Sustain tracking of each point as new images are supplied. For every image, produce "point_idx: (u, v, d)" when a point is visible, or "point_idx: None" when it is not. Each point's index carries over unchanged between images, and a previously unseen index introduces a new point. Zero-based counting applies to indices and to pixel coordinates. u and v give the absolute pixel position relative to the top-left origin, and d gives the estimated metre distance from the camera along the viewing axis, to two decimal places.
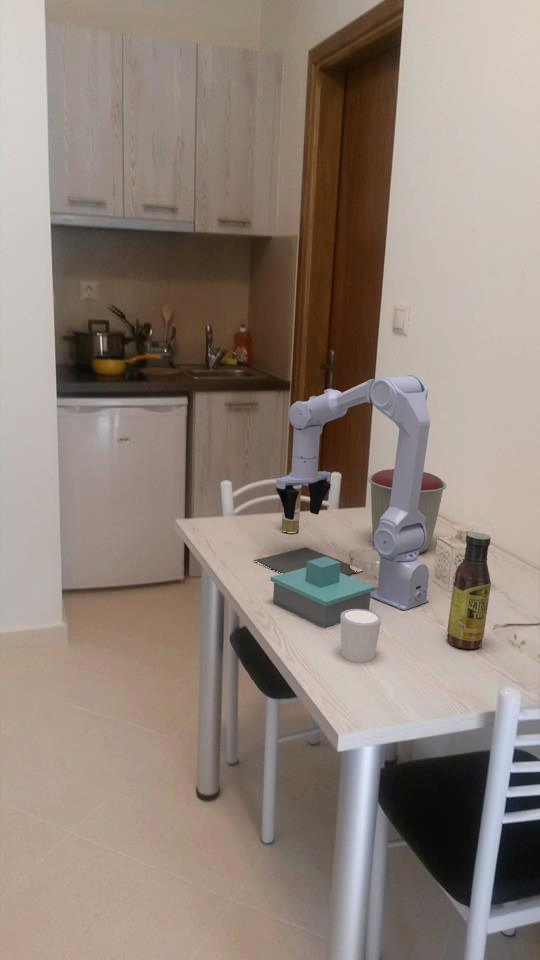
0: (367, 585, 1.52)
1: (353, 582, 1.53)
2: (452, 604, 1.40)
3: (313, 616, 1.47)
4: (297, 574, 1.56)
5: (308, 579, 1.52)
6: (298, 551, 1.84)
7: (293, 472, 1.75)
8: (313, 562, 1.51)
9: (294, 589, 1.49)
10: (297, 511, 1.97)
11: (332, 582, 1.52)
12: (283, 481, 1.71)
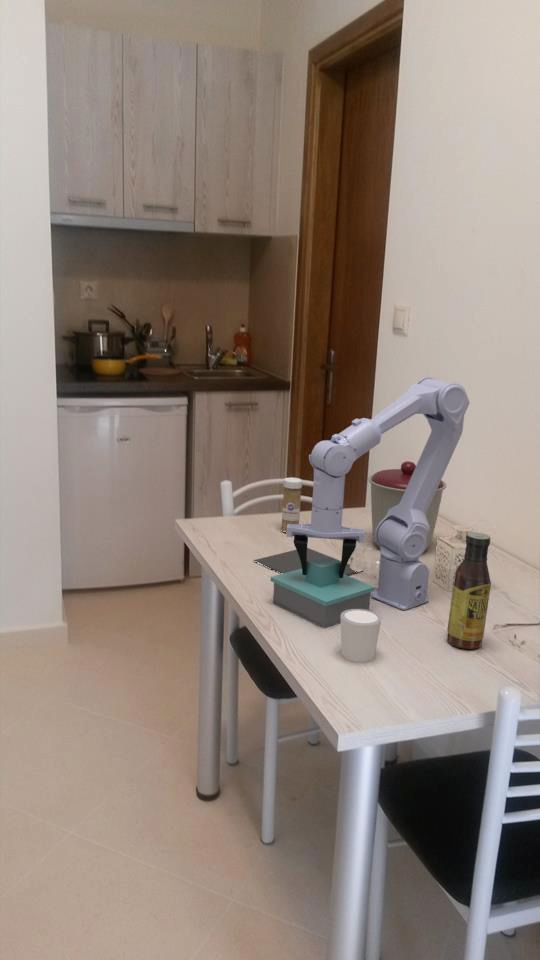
0: (367, 585, 1.52)
1: (353, 582, 1.53)
2: (452, 604, 1.40)
3: (313, 616, 1.47)
4: (297, 574, 1.56)
5: (308, 579, 1.52)
6: None
7: None
8: (313, 562, 1.51)
9: (294, 589, 1.49)
10: (297, 511, 1.97)
11: (332, 582, 1.52)
12: (288, 528, 1.50)
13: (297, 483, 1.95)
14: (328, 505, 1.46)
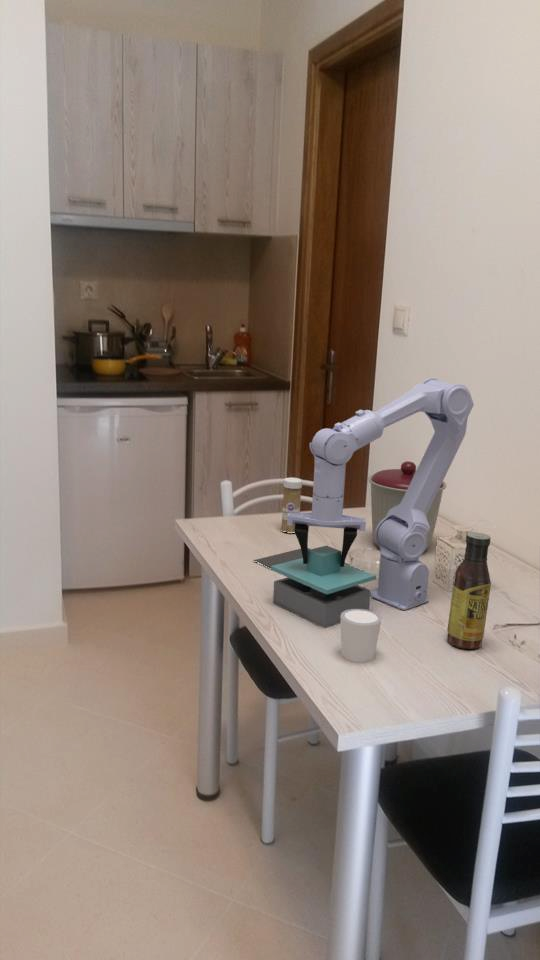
0: (368, 574, 1.52)
1: (354, 571, 1.53)
2: (452, 604, 1.40)
3: (313, 616, 1.47)
4: (298, 563, 1.55)
5: (309, 568, 1.51)
6: (298, 551, 1.84)
7: None
8: (314, 551, 1.51)
9: (295, 578, 1.49)
10: (297, 511, 1.97)
11: (333, 570, 1.51)
12: (289, 516, 1.49)
13: (297, 483, 1.95)
14: (329, 493, 1.46)
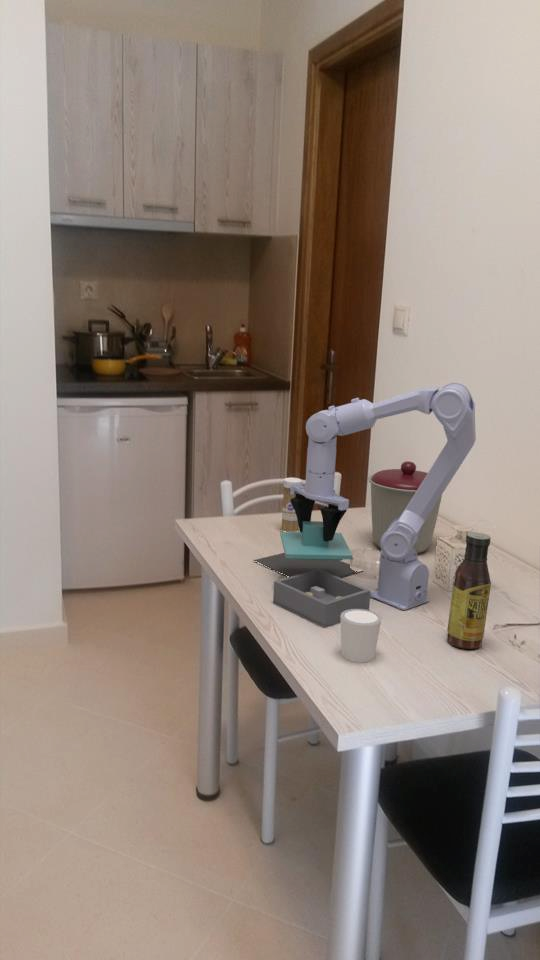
0: (348, 553, 1.58)
1: (340, 549, 1.60)
2: (452, 604, 1.40)
3: (313, 616, 1.47)
4: None
5: (302, 538, 1.65)
6: None
7: None
8: (306, 522, 1.63)
9: (282, 542, 1.64)
10: None
11: (319, 544, 1.62)
12: (291, 486, 1.66)
13: (297, 483, 1.95)
14: (311, 468, 1.58)
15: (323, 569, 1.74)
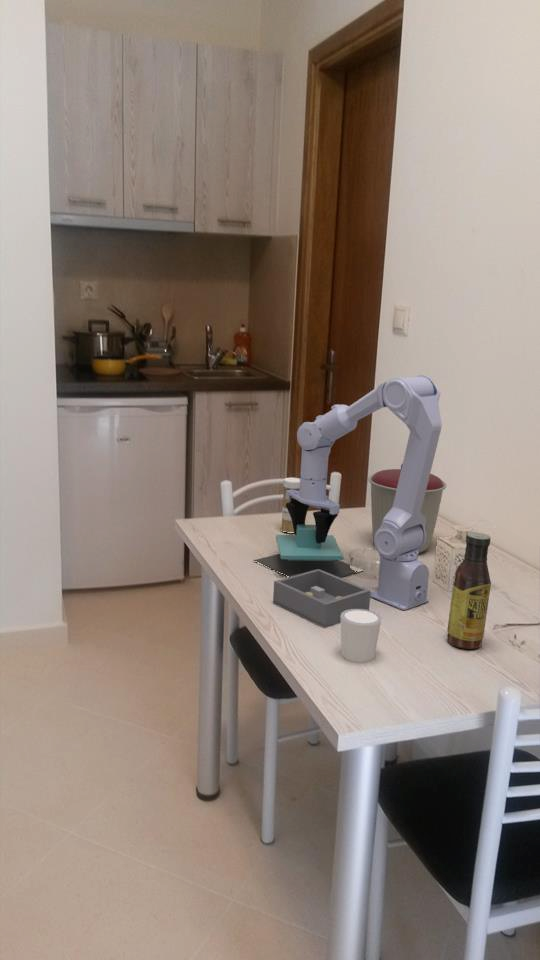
0: (339, 554, 1.69)
1: (332, 550, 1.71)
2: (452, 604, 1.40)
3: (313, 616, 1.47)
4: None
5: (296, 540, 1.76)
6: None
7: None
8: (300, 526, 1.75)
9: (278, 545, 1.75)
10: None
11: (312, 545, 1.73)
12: (287, 491, 1.77)
13: (297, 483, 1.95)
14: (301, 474, 1.70)
15: (323, 569, 1.74)
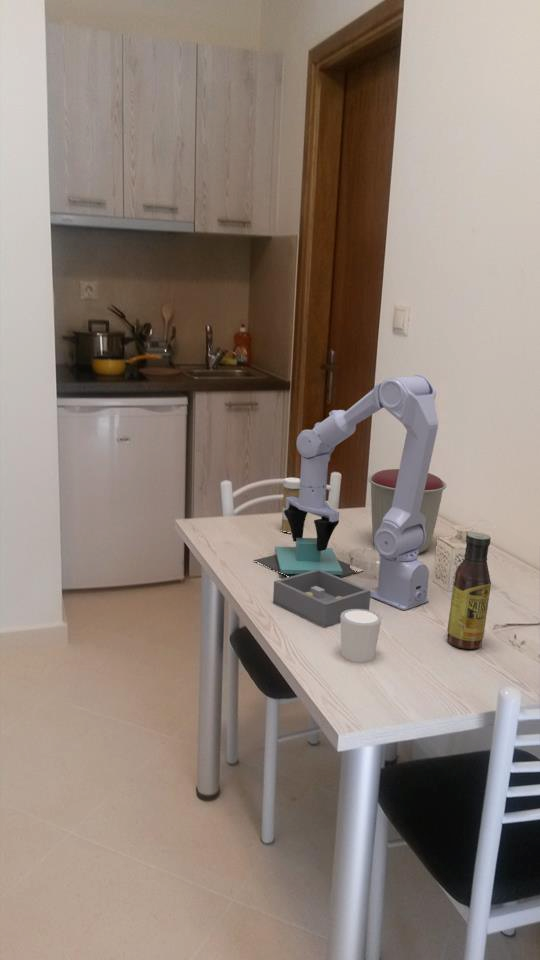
0: (338, 568, 1.70)
1: (331, 564, 1.72)
2: (452, 604, 1.40)
3: (313, 616, 1.47)
4: None
5: (295, 553, 1.76)
6: None
7: None
8: (299, 539, 1.75)
9: (277, 558, 1.76)
10: None
11: (311, 559, 1.73)
12: (286, 498, 1.77)
13: (297, 483, 1.95)
14: (301, 481, 1.71)
15: None
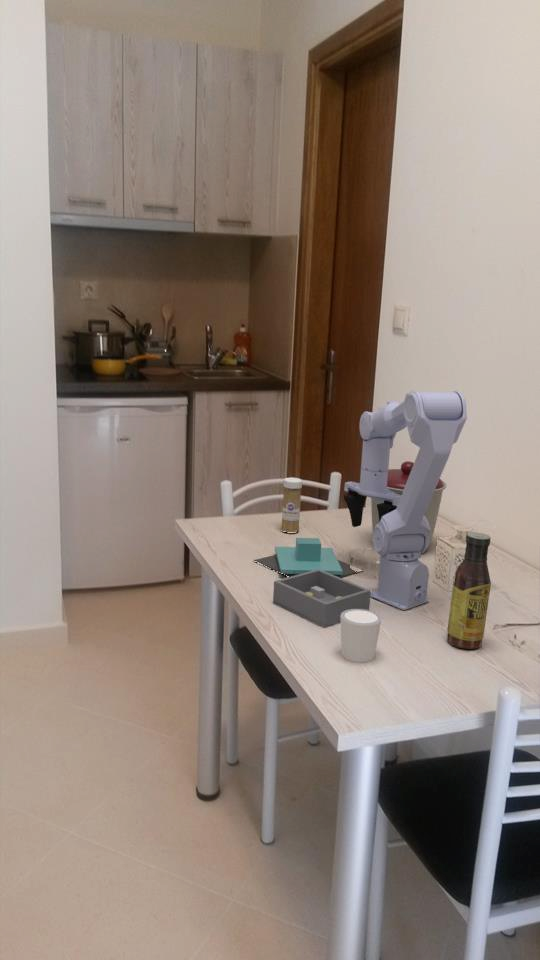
0: (338, 568, 1.70)
1: (331, 564, 1.72)
2: (452, 604, 1.40)
3: (313, 616, 1.47)
4: None
5: (295, 553, 1.76)
6: None
7: None
8: (299, 539, 1.75)
9: (277, 558, 1.76)
10: (297, 511, 1.97)
11: (311, 559, 1.73)
12: (345, 483, 1.75)
13: (297, 483, 1.95)
14: (361, 463, 1.70)
15: None
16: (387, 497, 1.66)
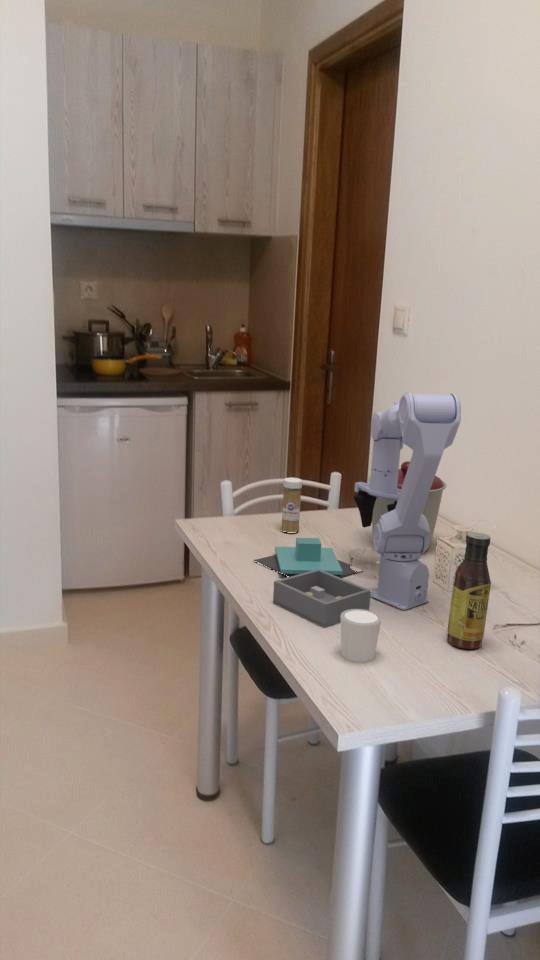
0: (338, 568, 1.70)
1: (331, 564, 1.72)
2: (452, 604, 1.40)
3: (313, 616, 1.47)
4: None
5: (295, 553, 1.76)
6: None
7: None
8: (299, 539, 1.75)
9: (277, 558, 1.76)
10: (297, 511, 1.97)
11: (311, 559, 1.73)
12: (355, 484, 1.75)
13: (297, 483, 1.95)
14: None
15: None
16: (397, 498, 1.66)
